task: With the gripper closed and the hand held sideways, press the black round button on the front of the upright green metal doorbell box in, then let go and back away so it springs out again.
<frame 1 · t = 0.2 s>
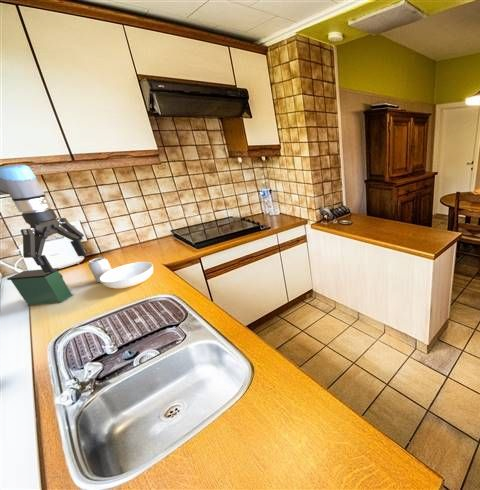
hand: (67, 263, 102), 25 cm above the worktop, tool pointing down, fingers open, 13 cm apart
button: (53, 277, 127), point 9 cm above the worktop, slide at 0.0 cm
serving bowl: (132, 282, 137), on the worktop
can: (107, 279, 141), on the worktop
bell box: (51, 300, 125), on the worktop
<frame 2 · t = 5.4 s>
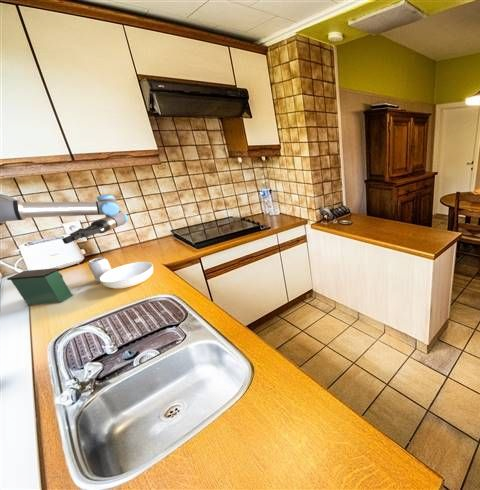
hand: (64, 241, 133), 23 cm above the worktop, tool horizontal, fingers closed
nothing on the worktop moved.
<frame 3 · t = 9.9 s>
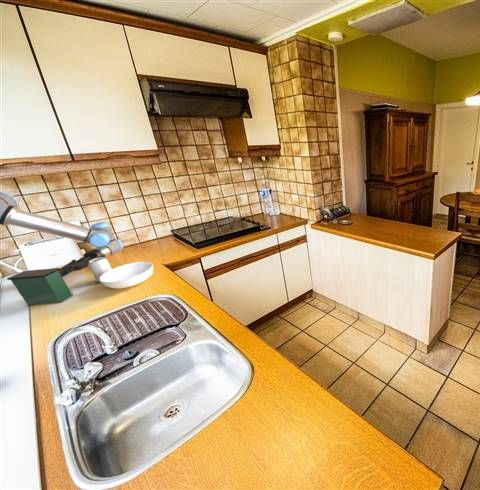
hand: (56, 276, 128), 9 cm above the worktop, tool horizontal, fingers closed
button: (53, 277, 127), point 9 cm above the worktop, slide at -0.1 cm, touching gripper
everything else where it was.
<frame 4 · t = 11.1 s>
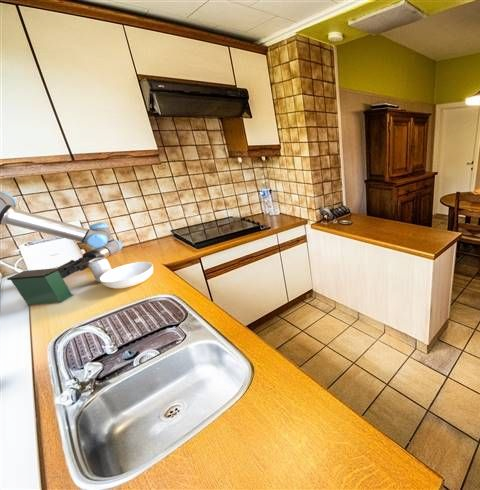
hand: (55, 276, 127), 9 cm above the worktop, tool horizontal, fingers open, 4 cm apart
button: (51, 278, 126), point 9 cm above the worktop, slide at -1.0 cm, touching gripper
everything else where it was.
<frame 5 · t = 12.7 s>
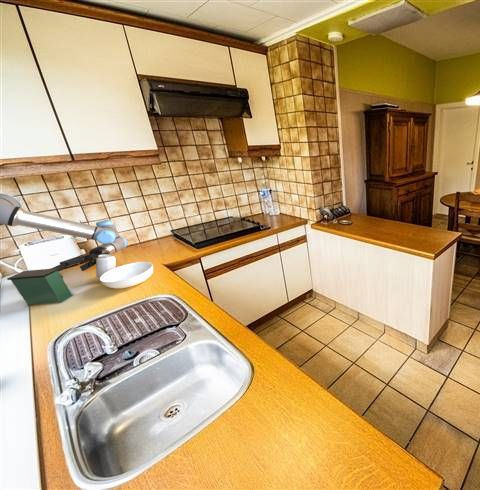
hand: (67, 269, 133), 9 cm above the worktop, tool horizontal, fingers open, 13 cm apart
button: (53, 277, 127), point 9 cm above the worktop, slide at 0.1 cm
can: (106, 277, 141), point 1 cm above the worktop
everything else where it was.
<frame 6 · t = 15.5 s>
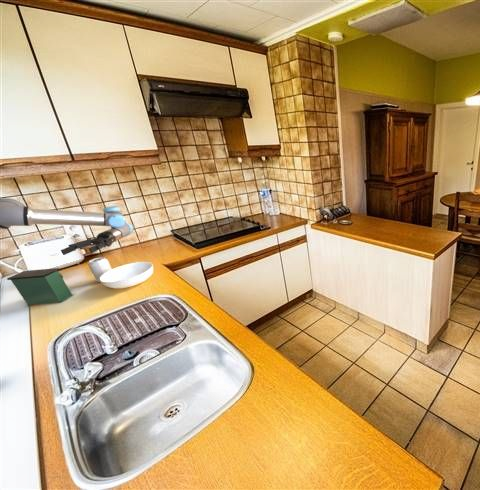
hand: (76, 251, 138), 15 cm above the worktop, tool horizontal, fingers open, 13 cm apart
can: (107, 279, 141), on the worktop
everything else where it was.
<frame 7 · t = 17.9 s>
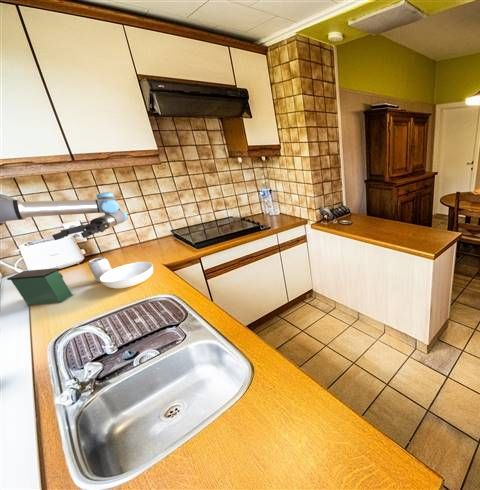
hand: (68, 236, 135), 24 cm above the worktop, tool horizontal, fingers open, 13 cm apart
nothing on the worktop moved.
at the end: button pushed in 1.1 cm at the most during the clip, back to where it started at the end; button slide at 0.1 cm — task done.
